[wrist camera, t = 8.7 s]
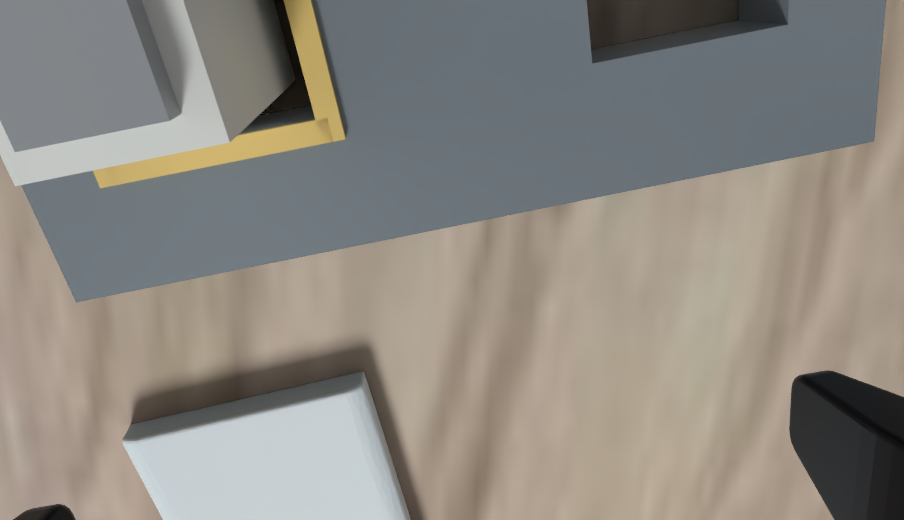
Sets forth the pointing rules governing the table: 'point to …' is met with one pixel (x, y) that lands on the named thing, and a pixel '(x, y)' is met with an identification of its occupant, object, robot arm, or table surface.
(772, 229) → the table surface
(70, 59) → the plug
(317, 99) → the panel
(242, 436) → the external hard drive
